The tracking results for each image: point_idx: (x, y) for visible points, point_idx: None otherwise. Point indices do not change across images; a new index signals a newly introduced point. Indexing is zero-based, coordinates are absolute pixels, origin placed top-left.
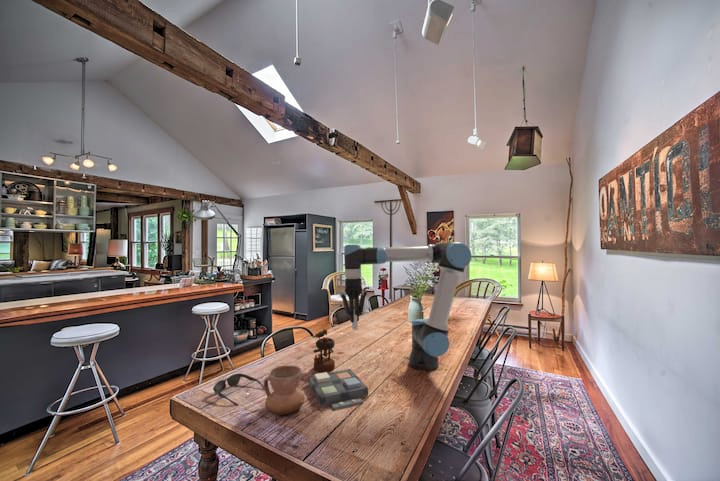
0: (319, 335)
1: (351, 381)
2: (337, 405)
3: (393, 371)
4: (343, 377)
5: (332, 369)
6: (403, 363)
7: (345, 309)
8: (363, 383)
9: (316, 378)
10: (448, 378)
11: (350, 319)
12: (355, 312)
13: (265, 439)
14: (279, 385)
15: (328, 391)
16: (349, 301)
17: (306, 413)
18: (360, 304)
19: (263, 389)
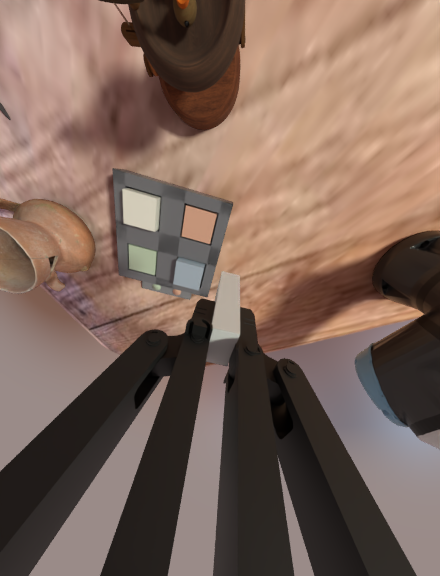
0: None
1: (186, 276)
2: (149, 286)
3: (328, 249)
4: (191, 235)
5: (214, 126)
6: (394, 231)
7: (110, 375)
8: (210, 282)
9: (124, 209)
10: (359, 327)
11: (194, 313)
12: (234, 362)
13: (46, 285)
14: (6, 274)
15: (138, 265)
16: (113, 545)
17: (102, 269)
18: (299, 479)
19: (3, 110)
